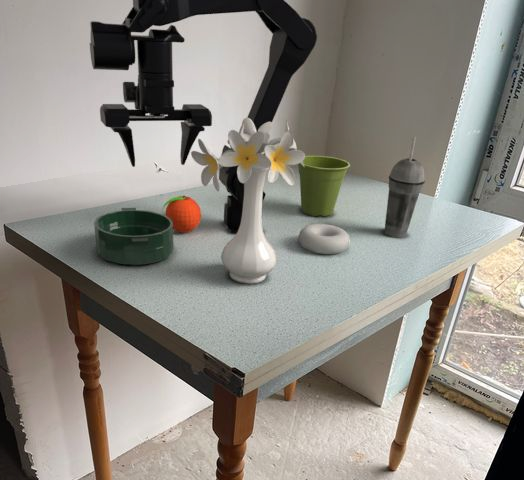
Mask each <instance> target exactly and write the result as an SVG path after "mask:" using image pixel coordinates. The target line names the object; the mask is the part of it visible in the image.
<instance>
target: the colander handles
mask: <svg viewBox="0 0 524 480" xmlns="http://www.w3.org/2000/svg"><path fill="white" fill-rule="evenodd" d="M121 210H137V208H136V207H121ZM131 242H132V245H149V241H148V238H147V237H139V238H131Z"/></svg>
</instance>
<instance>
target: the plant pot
mask: <svg viewBox="0 0 524 480" xmlns="http://www.w3.org/2000/svg"><path fill="white" fill-rule="evenodd" d="M303 164H304V167H303V166H302V165H301V164H300V163H299V164H297V166H298V167H297V168H298V174H299V187H300V208H301V211H302V213H304V214H306V215H310V216H312V217H318V216H322V217H329V216H331V215H333V213H334V211H335V208H336V203H337V201H338V197H339V193H340V191H341V187H342V184H343V181H344V178H346V173H347V171H348V169H349V168H350V167H351V163H350V162H349V161H347V160H345V159H341V158H338V157H332V156H325V155H305V158H304V160H303Z"/></svg>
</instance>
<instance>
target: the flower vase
mask: <svg viewBox="0 0 524 480" xmlns="http://www.w3.org/2000/svg"><path fill="white" fill-rule="evenodd" d="M272 128H273V121H272V122H266V123H264V124H263V125H262V126H261V127H260V128H259V129H258V132H257V131H256V128H255V125H254V123H253V121H252V120H251V119H250V118H247V117H244V118H243V119H242V121H241V125H240V128H239V131H237V130H235V129H230V130H229V131H228V132H227V133H228V134H227V138H228V139H227V144H228V145H229V148H232V149H233V150H227V151H225V152H224V153H223V154H222V153H221V155H220V156H219V157H217V156H216V155H215V154H214V153H213V152H212V151H211V150H210V149H209V148H208V146H207V145H206V144H205V143H204V141H203V140H202V139H201V138H197V143H198V146H199V149H200V151H197V150H191V151H190V155H191V158H192V159H193V161H194V162H195V163H197V164H198V165H200V166H202V167H203V166H204V168H203V169H202V171H201V175H200V180H201V184H202V186H204V187H206V186H208V185H209V183H211V180H212V185H213V187H214V189H215V190H216V191H217V192H220V180H219V169H220V168H222V167H223V166H224V167H232V166H238V165H239V166H238V169H237V176H238V180H239V181H240V182H241V183H244V200H243V211H242V218H241V223H240V227H239V230H238V232H237V233H235V234H234V235H235V236H233V237H232V238H231V239H230V240H229V241H228V242H227V243H226V244H225V245H224V247H223V249H222V251H221V255H220V260H221V263H222V265H223V267H224V268H225V269H226V270H227V271H228V272H229V276H230V278H231V280H233V281H235V282H238V283H241V284H248V285H249V284H258V283H261V282H263V281H265V279H266V278H267V275H268V274H269V273H271V272H272V271H273V270H274V269H275V267H276V265H277V262H278V261H277V259H278V257H277V255H276V251H275V248H274V247H273V246H272V244H271V243H270V242H269V241H268V239H267V238H266V236H265V233H264V228H263V222H262V221H263V203H262V197H263V191H264V186H265V182H266V178H267V181H268V183H270V184H273V183H274V182H276V181H277V180H278V178H279V176H281V178H282V179H283V180H284V181H285V182H286V184H287V185H288V186H291V187H292V186H294V185H295V184H296V176H295V172H294V171H293V169H292V168H291V166H295V165H298V164H299V163H300V164H301V165H302V166H303V167H304V164H303V160H304V158H305V156H306V154H305V152H304V151H302V150H299V149H297V143H296V141H295V139H294V136H293V132H292V130H291V128H290V127H289V122H288V119H286V120H285V129H284V133H283V134H282V136H281V137H276V138H273V139H270V137H271V135H270V132H271V130H272ZM277 144H278V145H277ZM275 145H277V147H276V146H275ZM220 165H221V166H220Z"/></svg>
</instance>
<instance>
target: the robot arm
mask: <svg viewBox="0 0 524 480" xmlns="http://www.w3.org/2000/svg"><path fill="white" fill-rule="evenodd" d="M250 12H255V13H256V14H257V16H258V17H259V19H260V20H261V22H262V23H263V25H264V26H265V27H266V29H268V31H269V32H270V33H271V34H272V36H271V40H270V44H269V53H268V64H267V68H266V71H265V73H264V75H263V78H262V80H261V83H260V85H259V88H258V91H257V93H256V95H255V98H254V100H253V102H252V104H251V107H250V111H249V112H248V115H247V117H246V118H250V119H251V120H252V121H253V123H254V125H255V128H256V131H257V132H258V129H259V128H260V127H261V126H262V125H263V124H264V123H266V122H272V123H273V121H274V118H275V116H276V114H277V111H278V110H279V107H280V105H281V102H282V100H283V97H284V96H285V93H286V90H287V88H288V86H289V84H290V81H291V79H292V78H293V76H294V74H296V72H298V71H299V69H300V68H301V67H302V66H303V65H304V64H305V62H306V61H307V60H308V58H309V57H310V55H311V53H312V52H313V50H314V49H315V47H316V44H317V40H318V34H317V30H316V27H315V25H314V24H313V22H312V21H311V20H310V19H307V18H305V17H302V16H301V15H300V14H299V13H298V11H296V10H295V9H294V8H293V7H292V6H291V5H290V4H289V3H287V2H286V0H132V7H131V9H130V11H129V12H128V14H127V15H126V17H124V20H123V21H122V23H120V24H119V23H107V22H102V21H96V20H95V21H94V20H91V21H90V23H89V26H90V42H89V54H90V60H91V66H92V69H93V70H103V71H104V70H105V71H129V69H130V66H133V65H134V64H136V52H137V70H138V71H137V72H138V74H137V85H136V83H135V82H134V81H123V82H122V96H123V101H124V103H134V109H131V108H130V109H129V108H128V107H127V106H125V104H123V103H102V104H101V106H100V108H99V116H100V122H102V124H103V125H104V127H106V128H110V129H111V130H112V131H113V133H116V134H117V133H118V135H119V137H120V139H121V142H122V143H123V146H124V148H125V152H126V154H127V157H128V159H129V162H130V164H131V165H130V166H131V167H133V168H135V167H136V155H135V147H134V139H133V138H134V137H133V130H132V128H131V127H130V126H129V124H130V122H176V121H177V122H178V121H179V122H180V128H181V137H180V138H181V139H180V140H181V141H180V152H179V153H180V154H179V156H180V164H181V166H185V164H186V161H187V159H188V157H189V155H190V153H191V151H192V147H193V145H194V143H195V141H196V140H197V139H198V138H197V137H198V136H199V135H200V133H201V132H205V129H206V127H211V126H212V125H213V114H212V111H211V109H210V108H207V106H204V105H203V104H199V103H197V104H195V103H194V104H193V103H189V104H187V103H185V104H184V103H183V104H182V107H181V109H179V108H178V109H177V108H176V109H175V106H174V91H173V90H174V88H175V80H174V79H173V78H174V77H173V75H174V74H173V72H174V71H173V43H184V42H185V38H184V37H183V36H182V35H181V34H180V32H179V31H178V29H177V27H176V25H174V24H173V23H178V22H180V21H183V20H185V19H189V18H191V17H195V16H204V15H205V16H206V15H218V14H231V13H232V14H234V13H250ZM170 24H171V25H170ZM166 25H169V27H168V28H167V29H157V28H156V29H154V28H152V27H153V26H155V27H163V26H166ZM147 30H149V31H148V35H135V34H132V33H139V34H140V33H141V34H142V33H145V32H146V31H147ZM135 41H136V43H135ZM135 45H136V46H135ZM136 50H137V51H136ZM221 150H222V151H221V155H222V154H223V153H224V152H225V151H227V150H233V149H232V148H231V147H230V146H228V145H226V144H224V145H223V147H222V149H221ZM220 166H221V165H220ZM238 166H239V165H238ZM238 166H232V167H224V166H223V167H222V168H220V169H219V182H220V183H221V184H222V185H223V186H225V189H226V192H227V193H229V195H227V198H226V202H225V203H224V206H223V207H224V208H223V224H224V225H225V226H226V227H227V229H228V231H229V232H230V233H233V234H237V232H238V230H239V227H240V223H241V218H242V211H243V200H244V183H241V182H240V181H239V180H238V176H237V169H238ZM266 195H267V194H266V191H264V190H263V197H262V204H263V202H264V200H265V198H266Z"/></svg>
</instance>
